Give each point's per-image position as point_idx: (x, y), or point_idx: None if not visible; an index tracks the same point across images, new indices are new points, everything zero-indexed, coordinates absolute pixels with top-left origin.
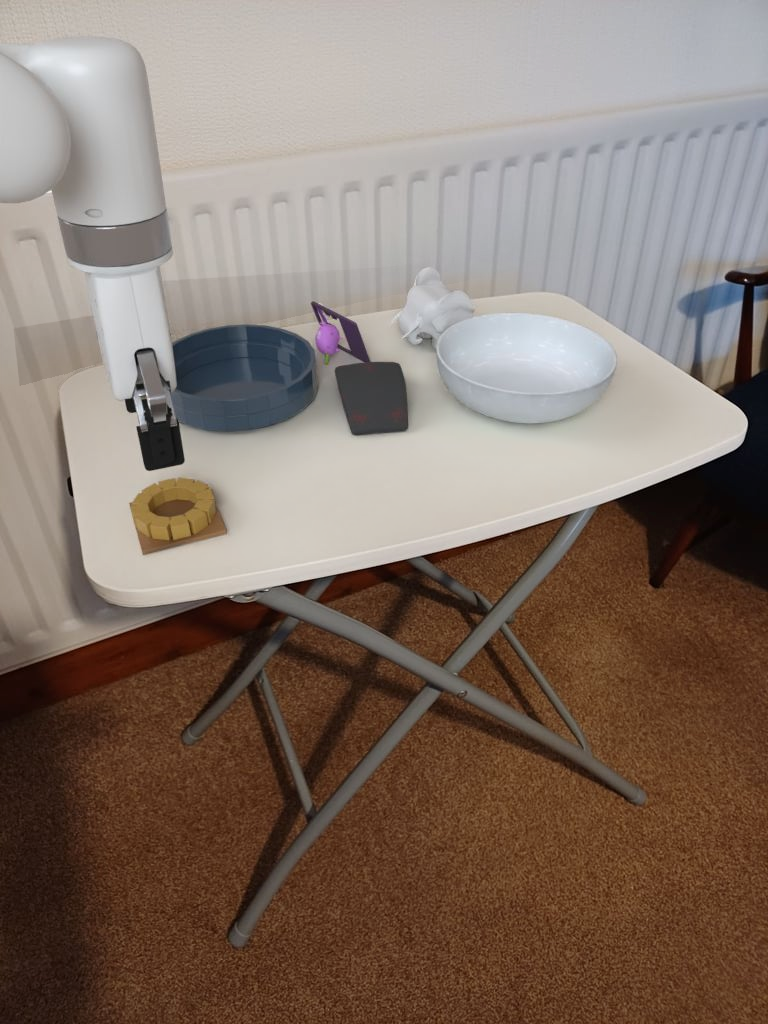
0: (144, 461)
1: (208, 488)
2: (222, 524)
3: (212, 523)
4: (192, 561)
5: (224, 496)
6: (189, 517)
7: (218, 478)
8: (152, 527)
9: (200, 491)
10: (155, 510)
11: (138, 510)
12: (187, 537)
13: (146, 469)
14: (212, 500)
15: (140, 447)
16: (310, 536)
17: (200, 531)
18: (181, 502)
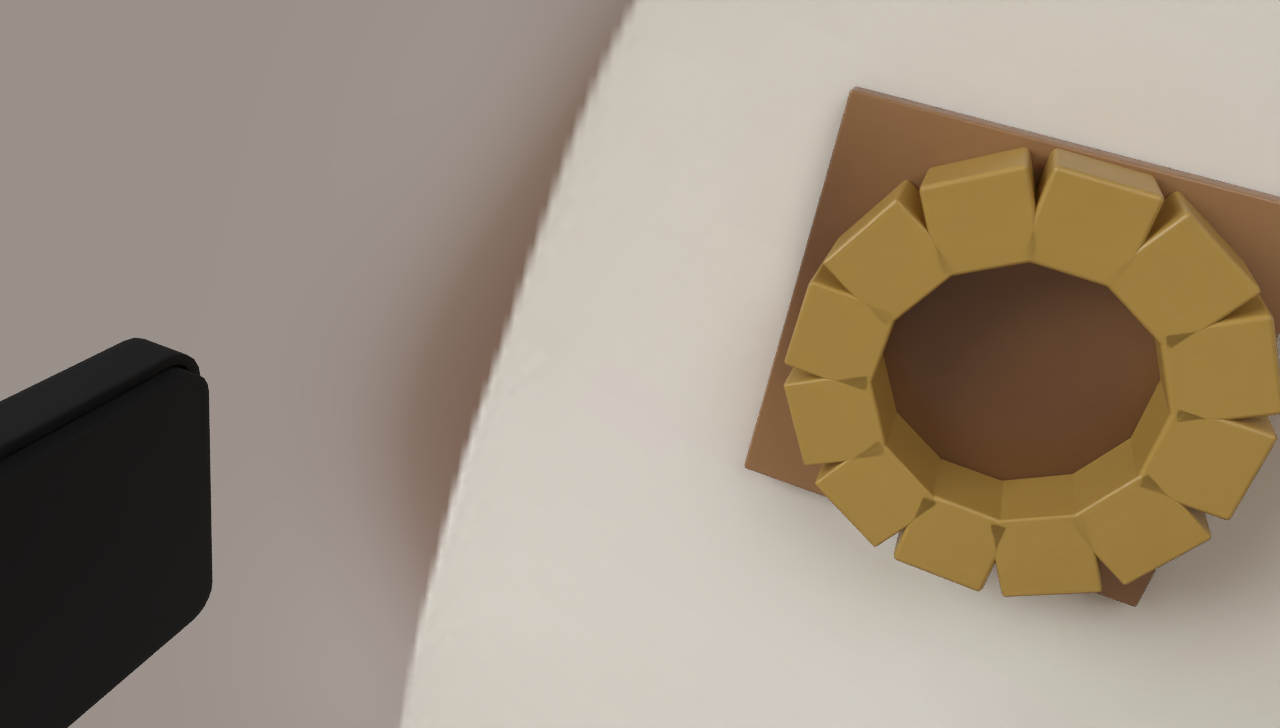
0: (74, 373)
1: (1000, 585)
2: (789, 478)
3: None
4: (674, 254)
5: (1010, 603)
6: (824, 391)
7: (1174, 670)
8: (886, 207)
9: (992, 544)
10: None
11: (1080, 212)
12: None
13: (143, 342)
14: (874, 541)
15: (1, 439)
16: (552, 653)
17: None
18: (1091, 436)
